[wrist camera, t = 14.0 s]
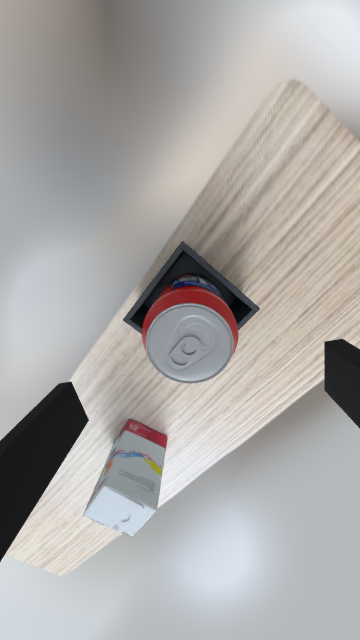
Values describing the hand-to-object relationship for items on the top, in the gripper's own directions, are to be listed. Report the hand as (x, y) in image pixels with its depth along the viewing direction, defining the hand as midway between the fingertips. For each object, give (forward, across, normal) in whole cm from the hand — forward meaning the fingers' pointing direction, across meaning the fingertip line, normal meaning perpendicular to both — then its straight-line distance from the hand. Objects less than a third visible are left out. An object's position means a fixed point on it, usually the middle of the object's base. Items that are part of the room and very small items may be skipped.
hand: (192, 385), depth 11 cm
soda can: (+20, 0, 0) cm, 20 cm away
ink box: (+21, -16, -26) cm, 37 cm away
